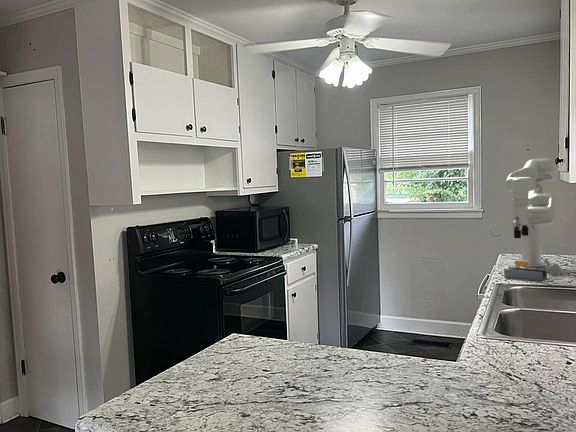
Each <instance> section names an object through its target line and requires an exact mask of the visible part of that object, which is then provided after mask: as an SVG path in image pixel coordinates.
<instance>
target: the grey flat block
mask: <svg viewBox="0 0 576 432" xmlns="http://www.w3.org/2000/svg"><path fill="white" fill-rule="evenodd" d="M547 271H548V270H547V269H539V268H538V269H537V268H529V269H528V268H525V267H520V268H516V267H515V266H509V267H508V268H504V270H503V272H504V273H503V276H504V278H506V279H507V278H509V279H515V278H516V279H515V280H525V279H527V281H535V280H536V281H537V282H543V281H545V280H547V278H548V272H547Z"/></svg>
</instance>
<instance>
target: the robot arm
mask: <svg viewBox="0 0 576 432" xmlns="http://www.w3.org/2000/svg"><path fill="white" fill-rule="evenodd" d="M559 177H560V170H559V168H558V166H557V163H556V161H555V160H553V158H549V157H548V158H543V157H542V158H532V159H530V160H527V161H526V163H525V164H524V166H523V167H522V168H520V169H518V170H515V171H513V172H511V173H510V174H509V175H508V176H507V178H506V180H505V182H504V183H505V184H504V186H505V187H504V188H505V190H506V191H507V192H510V193H511V202H512V205H511V206H512V209H511V210H512V211H511V225H512V226H513V237H514V239H521V240H520V242H521V244H520V245H521V260H524V261H529V268H533V267H534V268H535V267H537V268H539V267H545V265H546V264H545V262H544V261H542V233H541V230H540V229H539V228H538V227H537V226H538V225H541V226H542V225H547V226H548V225H553V224H554V223H555V222H556V218H557V212H558V207H559V198H558V196H557V195H556V194H555V193H551V192H547V193H546V191H545V189H544V187H543V186H542V185H541V184H540V183H549V182H550V183H553V182H556V181H558V180H559ZM520 267H525V265H520Z"/></svg>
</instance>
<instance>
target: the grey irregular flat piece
mask: <svg viewBox="0 0 576 432" xmlns="http://www.w3.org/2000/svg"><path fill="white" fill-rule="evenodd" d="M543 262H544V263H545V265H546V267H547V268H549V267H550V268H549V269H550V271H549V273H550V276H551V275H552V276H561V265H559V264H558V263H552V264H551V263H550V262H549V260H548V258H547V257H545V258H543Z"/></svg>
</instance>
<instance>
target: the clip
mask: <svg viewBox="0 0 576 432" xmlns="http://www.w3.org/2000/svg"><path fill="white" fill-rule="evenodd" d="M514 265H515V266H514V267H516V268H521V265H525V266H524V268H528V269H530V267H529V261H524V260H522V259H521V260H520V259H516V260H515V261H514Z"/></svg>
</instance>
